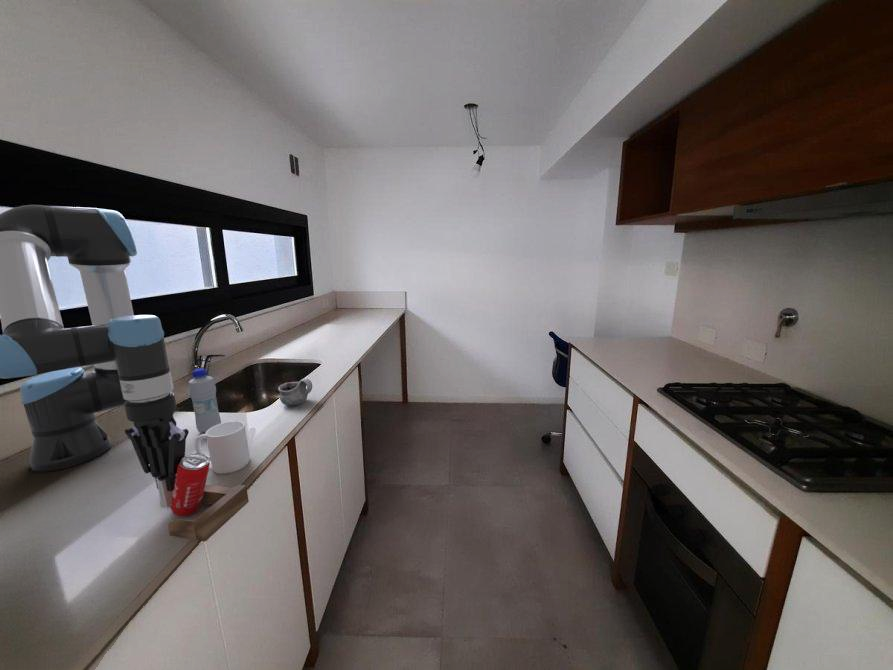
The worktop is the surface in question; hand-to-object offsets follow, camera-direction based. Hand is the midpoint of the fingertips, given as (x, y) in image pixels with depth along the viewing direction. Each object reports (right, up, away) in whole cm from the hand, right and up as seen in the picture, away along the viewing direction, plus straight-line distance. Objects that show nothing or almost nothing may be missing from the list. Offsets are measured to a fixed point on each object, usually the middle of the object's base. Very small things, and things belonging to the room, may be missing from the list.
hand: (170, 502), depth 73 cm
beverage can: (+3, -1, 0) cm, 3 cm away
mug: (+4, +10, +54) cm, 55 cm away
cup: (0, +1, +17) cm, 17 cm away
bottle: (-15, +5, +35) cm, 38 cm away
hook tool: (+3, -2, 0) cm, 4 cm away
